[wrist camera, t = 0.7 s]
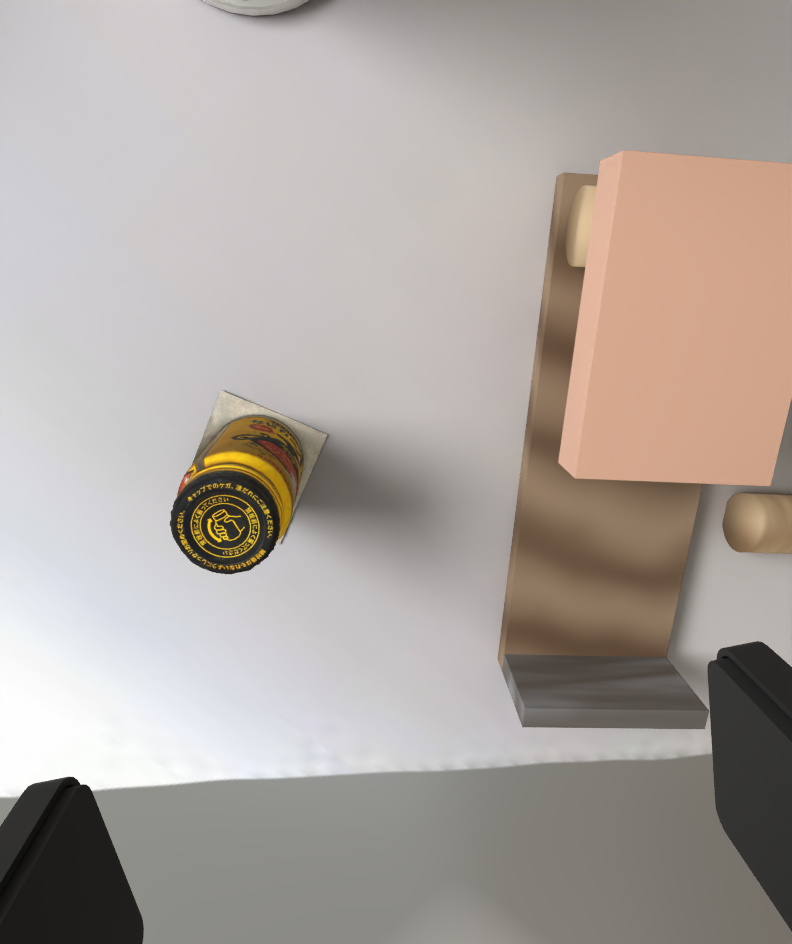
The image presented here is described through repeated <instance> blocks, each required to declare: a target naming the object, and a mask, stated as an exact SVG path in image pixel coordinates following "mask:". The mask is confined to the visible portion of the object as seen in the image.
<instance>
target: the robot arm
mask: <svg viewBox="0 0 792 944" xmlns="http://www.w3.org/2000/svg"><path fill="white" fill-rule="evenodd" d="M202 1H204V2H206V3H207V4H209V5H212V6H215V7H217V8H220V9H223V10H226V11H228V12H231V13H238V14H245V15H252V16H257V15H271V14H278V13H281V12H284V11H288V10H291V9H294V8H297V7H299V6H301V5H302V4H304V3H306V2H308V1H309V0H248V1H244V0H202ZM708 685H709V702H710V719H711V736H712V753H713V770H714V787H715V803H716V810H717V813H718V816H719V819H720V822H721V824H722V826H723V829H724V830H725V832H726V834H727V835H728V837H729V838H730V840H731V841H732V843H733V844H734V846H735V847H736V849H737V850H738V852H739V853H740V855H741V856H742V858H743V859H744V861H745V862H746V864H747V865H748V867H749V868H750V870H751V871H752V873H753V874H754V876H755V877H756V879H757V880H758V881H759V883H760V885H761V886H762V888H763V889H764V891H765V892H766V894H767V895H768V896H769V898H770V900H771V901H772V902H773V904H774V906H775V907H776V909H777V910H778V911H779V913H780V914H781V916H782V917H783V919H784V920H785V922H786V923H787V925H788V926H789V928H790V929H791V931H792V667H791V666H790V665H789V664H787V663H786V662H785V661H784V660H783V659H782V658H781V657H780V656H778V655H777V654H776V653H775V652H774V651H773V650H772V649H770V648H769V647H768V646H767V645H765V644H764V643H762V642H758V641H757V642H752V643H747V644H742V645H737V646H731V647H726V648H722V649H720V650H719V651H718V654H717V660H714V661H711V662H709V664H708ZM143 930H144V928H143V920H142V917H141V914H140V911H139V909H138V906H137V904H136V901H135V899H134V896H133V894H132V891H131V889H130V886H129V884H128V881H127V879H126V876H125V874H124V871H123V868H122V866H121V864H120V861H119V859H118V856H117V853H116V851H115V848H114V846H113V844H112V841H111V838H110V836H109V833H108V831H107V828H106V826H105V823H104V821H103V818H102V816H101V813H100V811H99V808H98V806H97V803H96V801H95V798H94V796H93V793H92V791H91V789H90V787H88V786H87V785H80V783H79V782H78V780H77V779H75V778H74V777H65V778H60V779H55V780H50V781H45V782H40V783H35V784H32V785H30V786H28V787H27V789H26V790H25V791H24V792H23V793H22V795H21V796H20V798H19V799H18V801H17V802H16V804H15V805H14V807H13V808H12V810H11V812H10V813H9V815H8V816H7V818H6V819H5V820H4V822H3V824H2V825H1V827H0V944H142V942H143Z"/></svg>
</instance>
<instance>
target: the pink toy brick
mask: <svg viewBox="0 0 792 944" xmlns="http://www.w3.org/2000/svg"><path fill="white" fill-rule="evenodd" d="M565 248H566V257H567V261H568V263H569V264H570V265H571V266H574V267H585V274H584V281H583V288H582V295H581V303H580V310H579V317H578V324H577V331H576V338H575V346H574V353H573V360H572V367H571V374H570V381H569V389H568V396H567V403H566V410H565V417H564V424H563V432H562V439H561V446H560V453H559V460H558V463H559V464H560V465H561V466H562V467H563V468H564V469H565V470H566V471H568V472H569V473H570V474H571V475H572V476H573V477H574V478H577V479H602V480H627V481H652V482H677V483H702V484H727V485H752V486H770V485H771V481H772V477H773V473H774V469H775V465H776V461H777V456H778V452H779V448H780V444H781V440H782V436H783V432H784V428H785V424H786V419H787V415H788V411H789V407H790V403H791V399H792V164H790V163H778V162H765V161H752V160H740V159H727V158H714V157H702V156H689V155H676V154H663V153H651V152H638V151H625V150H623V151H621V152H619V153H617V154H615V155H612V156H610V157H608V158H606V159H604V160H601V161H600V167H599V174H598V181H597V186H590V185H584V186H582V187H581V188H580V189H579V190H578V192H577V194H576V196H575V198H574V200H573V203H572V206H571V209H570V213H569V217H568V222H567V229H566V241H565Z"/></svg>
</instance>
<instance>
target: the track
mask: <svg viewBox="0 0 792 944" xmlns="http://www.w3.org/2000/svg"><path fill="white" fill-rule="evenodd" d="M597 181H598V175H589V174H576V173H563V174H561V175H559V176H557V179H556V187H555V195H554V203H553V212H552V220H551V228H550V236H549V244H548V253H547V261H546V269H545V277H544V285H543V293H542V302H541V310H540V318H539V326H538V334H537V342H536V351H535V359H534V367H533V375H532V383H531V392H530V400H529V408H528V416H527V424H526V432H525V441H524V449H523V457H522V465H521V473H520V481H519V490H518V498H517V506H516V514H515V522H514V531H513V539H512V547H511V555H510V563H509V571H508V580H507V588H506V596H505V604H504V612H503V620H502V629H501V637H500V645H499V653H498V661H499V664H500V667H501V669H502V672H503V675H504V678H505V680H506V683H507V686H508V689H509V691H510V694H511V697H512V700H513V702H514V705H515V708H516V710H517V713H518V716H519V719H520V721H521V724H522V727H561V728H652V729H705V726H706V721H707V717H708V713H709V710H708V709H707V708H706V706H705V705H704V704H703V703H702V701H701V700H700V699H699V698H698V696H697V695H696V694H695V693H694V691H693V690H692V689H691V688H690V686H689V685H688V684H687V683H686V681H685V680H684V679H683V678H682V676H681V675H680V674H679V673H678V671H677V670H676V669H675V668H674V666H673V665H672V664H671V663H670V661H669V660H668V659H667V658H666V655H667V651H668V646H669V641H670V636H671V632H672V627H673V622H674V617H675V613H676V608H677V603H678V598H679V594H680V589H681V584H682V579H683V575H684V570H685V565H686V560H687V556H688V551H689V546H690V541H691V537H692V532H693V527H694V522H695V518H696V513H697V508H698V503H699V499H700V494H701V489H702V483H677V482H652V481H627V480H602V479H577V478H574V477H573V476H572V475H571V474H570V473H569V472H568V471H566V470H565V469H564V468H563V467H562V466H561V465H560V464H559V463H558V460H559V453H560V446H561V439H562V432H563V424H564V417H565V410H566V403H567V396H568V389H569V381H570V374H571V367H572V360H573V353H574V346H575V338H576V331H577V324H578V317H579V310H580V303H581V295H582V288H583V281H584V274H585V267H574V266H571V265H570V264H569V263H568V261H567V257H566V248H565V241H566V229H567V222H568V217H569V213H570V209H571V206H572V203H573V200H574V198H575V196H576V194H577V192H578V190H579V189H580V188H581V187H582V186H584V185H590V186H597Z"/></svg>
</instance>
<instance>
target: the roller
mask: <svg viewBox="0 0 792 944" xmlns="http://www.w3.org/2000/svg"><path fill="white" fill-rule="evenodd" d="M723 531H724V535H725V538H726V540H727V542H728V544H729V545H730V547H731V548H732V549H734V550H735V551H737V552H752V553H784V554H792V495H776V494H750V493H737V494H735V495H733V496H732V497H731V498H730V499H729V501H728V502H727V506H726V511H725V515H724V519H723Z"/></svg>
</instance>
